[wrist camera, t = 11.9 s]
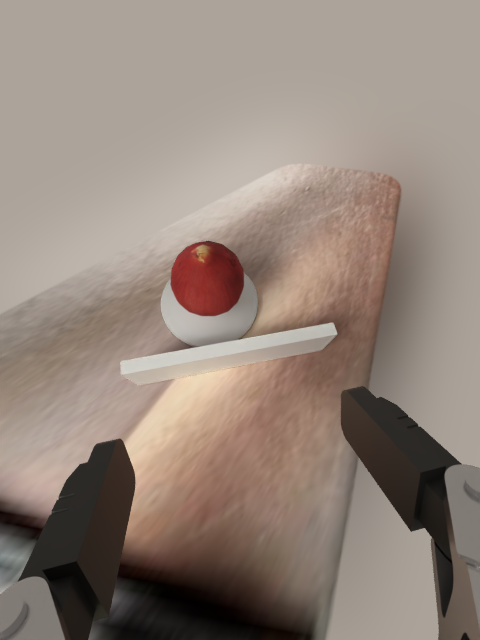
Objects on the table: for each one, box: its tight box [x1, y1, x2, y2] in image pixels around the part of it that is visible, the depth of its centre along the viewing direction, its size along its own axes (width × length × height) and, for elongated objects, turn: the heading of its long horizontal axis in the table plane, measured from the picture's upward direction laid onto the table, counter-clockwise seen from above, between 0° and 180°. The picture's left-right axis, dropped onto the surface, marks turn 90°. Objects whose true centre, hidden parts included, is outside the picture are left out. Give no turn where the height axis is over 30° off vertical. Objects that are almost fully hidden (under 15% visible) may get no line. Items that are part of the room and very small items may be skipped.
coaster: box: [161, 273, 258, 347], centre depth 26 cm, size 9×9×1 cm
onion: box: [170, 241, 244, 316], centre depth 22 cm, size 6×6×8 cm
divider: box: [120, 323, 337, 386], centre depth 22 cm, size 16×1×4 cm, turn 102°
